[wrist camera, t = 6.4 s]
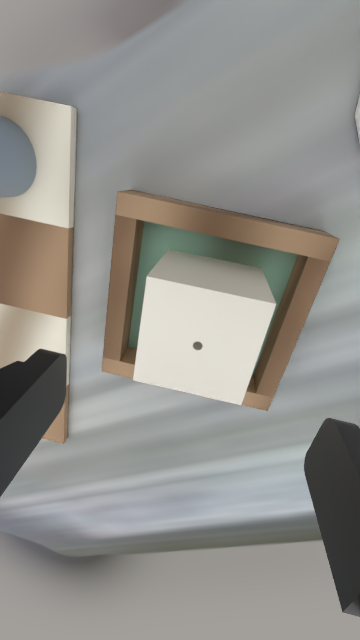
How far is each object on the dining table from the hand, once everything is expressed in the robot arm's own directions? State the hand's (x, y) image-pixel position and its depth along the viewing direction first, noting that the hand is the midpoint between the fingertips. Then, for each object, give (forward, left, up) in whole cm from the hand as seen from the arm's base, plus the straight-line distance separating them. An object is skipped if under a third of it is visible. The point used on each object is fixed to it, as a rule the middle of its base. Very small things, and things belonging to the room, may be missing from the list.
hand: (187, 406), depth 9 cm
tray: (0, 0, -9) cm, 9 cm away
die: (0, 0, -9) cm, 9 cm away
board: (+12, +3, -9) cm, 15 cm away
